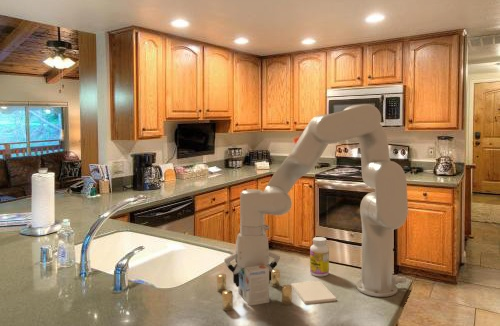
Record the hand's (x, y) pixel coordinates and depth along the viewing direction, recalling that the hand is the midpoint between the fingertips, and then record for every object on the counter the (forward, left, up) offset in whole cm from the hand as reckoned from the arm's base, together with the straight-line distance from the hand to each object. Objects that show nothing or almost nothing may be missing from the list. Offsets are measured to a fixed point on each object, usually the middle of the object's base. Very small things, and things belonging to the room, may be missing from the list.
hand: (252, 283), depth 126 cm
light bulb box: (0, 0, -5) cm, 5 cm away
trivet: (-19, +1, -4) cm, 20 cm away
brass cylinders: (0, -2, -4) cm, 5 cm away
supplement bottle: (-27, -14, -5) cm, 31 cm away
